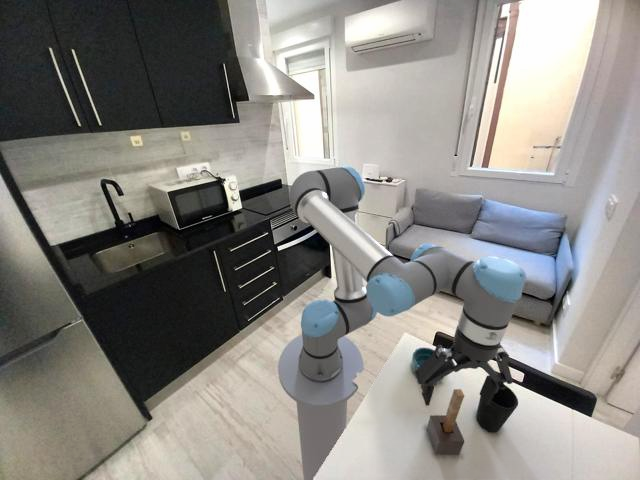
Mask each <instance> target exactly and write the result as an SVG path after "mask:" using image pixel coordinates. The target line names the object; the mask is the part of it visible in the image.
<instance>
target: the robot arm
mask: <svg viewBox="0 0 640 480" xmlns="http://www.w3.org/2000/svg"><path fill="white" fill-rule="evenodd" d="M365 188H366V187H365V182H364V179H363V177H362V175H361V174H360V173H359V172H358V171H357V169H356V168H354V167H353V166H352V167H351V166H335V167H329V168H322V169H316V170H308V171H305V172H303V173H301V174H300V175H298V176H297V177H296V178H295V180H294V181H293V182H292V184H291V187H290V190H289V204H290V207H291V209H292V212H293V213H294V214H295V215H296V217H297V218H298V219H299V220H300V221H302V223H306V224H310V225H311V227H313V229H315V231H316V232H317V233H318V234H319V235H320V236H321V237H322V238H323V239H324V240H325V241H326V242H327V243H328V244H329V245H330V246H331V252H332V258H333V266H334V272H335V280H336V288H335V289H334V290H333V297H334V300H330V299H317V300H314V301H311V302H309V303H308V304H307V305H306V306H305V307H304V309H303V310H302V312H301V319H300V328H301V335H302V339H303V347H302V350H301V353H300V355H299V368H300V371H301V373H302V374H303V375H304V376H305V377H306V378H307V379H309V380H311V381H314V382H327V381H330V380H332V379H334V378H335V377H337V376H338V375H339V373H340V372H341V370H342V366H343V357H342V353H341V351H340V349H339V346H338V339H339V338H341V337H343V336H345V337H346V335H350V334H351V333H353V332H355V331H357V330H358V329H360V328H362V327H364V326H367V325H368V324H369V323H370V322H372V321H373V320H375V318H376V316H377V315H378V314H380V315H381V316H383V317H387V318H388V317H394V316H396V315H399V314H401V313H404V312H407V311H409V310H411V309H412V308H413V307H414V306H417V305H418V304H419V303H422V302H423V301H425V300H427V299H429V298H430V297H432V296H434V295H436V294H438V293H440V292H441V291H443V290H444V291H446V292H448V293H450V294H452V295H453V296H455V297H457V298H459V299H461V300H463V305H462V309H461V312H460V314H459V318H458V321H457V322H458V323H457V324H456V325H457V326H456V327H455V328H456V329H455V333H454V335H453V344H452V346H450V348H444V347H443V346H442V345H441V344H438V345H436V347H435V349H434V350H435V351H434V353H433V354H432V355H431V356H430V357H429V358H428V359H427V360H426V361H425V362H424V363H423V364H422V365H421V366H420V367H419V368H418V369H417V370H416V371H415V374H414V376H415V378H416V382H417V383H418V385H420V388H421V391H422V392H421V395H422V398H423V402H424V404H425V406H430V404H431V400H432V398H433V395H434V390H435V384H434V383H436V382H437V381H439V380H440V379H442V378H443V379H445V377H447V376H449V375H450V374H451V373H457V372H459V371H461V370H468V369H472V370H477V369H478V368H482V370H484V372H485V373H487V374H488V375H486V377H485V379H484V382H483V384H482V386H481V389H480V392H479V393H478V394H479V397H480V396H481V397H482V399H483V401H484V403H485V405H490V403H491V400H492V398H493V396H494V394H495V393H497V392H498V390H499V388H500V389H505V388H506V386H507V385H506V384H508V385H512V384H513V383H514V381H513V376H512V373H511V369H510V366H509V363H508V361H509V358H510V355H509V353H508V352H507V351H506V350H505V348H504V347H503V346H502V344H501V342H502V340H503V338H504V337H505V334H506V331H507V329H508V326H509V324H510V321H511V319H512V317H513V314H514V312H515V310H516V308H517V305H518V303H519V301H520V300H521V298H522V296H523V290H524V286H525V284H526V281H527V274H526V271H525V270H524V269H523V268H522V267H521V266H520V265H519V264H517V263H516V262H514V261H512V260H509V259H506V258H499V257H497V256H482V257H481V258H479V259H478V260H477V261H474V260H471V259H469V258H467V257H465V256H462V255H460V254H458V253H456V252H453V251H451V250H449V249H447V248H445V247H444V246H440V245H436V244H433V243H430V242H424V243H422V244H421V245H419V246H418V248H416V249H415V250H414V251H413V253H412V255H411V258H410V261H407V262H405V263H403V262H402V261H401V260H400V259H399V258H397V257H396V256H394V254H392V253H391V252H390V251H389V250H388V249H386V247H384V246H383V245H381V243H379V242H378V241H377V240H376V239H375V238H373V236H371V235H370V234H369V233H368V232H366V231H365V230H364V229H363V228H361V226H360V225H358V224H357V223H356V214H357V213H358V212H359V210H360V207H359V202H361V201H362V200H363V198H364V196H365V191H366V189H365ZM363 280H364V281H365V282H366V285H365V284H364V282H363ZM493 359H495V361H496V364H497V368H498V370H499V373H498V372H496V370H495V369H494V368H493V366H491V365H490V363H489V362H490V361H492V360H493ZM505 383H506V384H505ZM436 384H437V383H436ZM505 385H506V386H505Z"/></svg>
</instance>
